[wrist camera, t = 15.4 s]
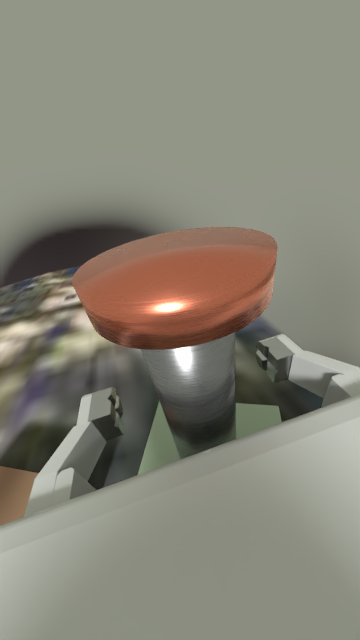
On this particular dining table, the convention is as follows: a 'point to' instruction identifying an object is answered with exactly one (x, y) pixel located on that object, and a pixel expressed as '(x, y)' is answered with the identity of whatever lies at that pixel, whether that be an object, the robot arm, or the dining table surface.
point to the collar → (14, 493)
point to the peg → (184, 318)
